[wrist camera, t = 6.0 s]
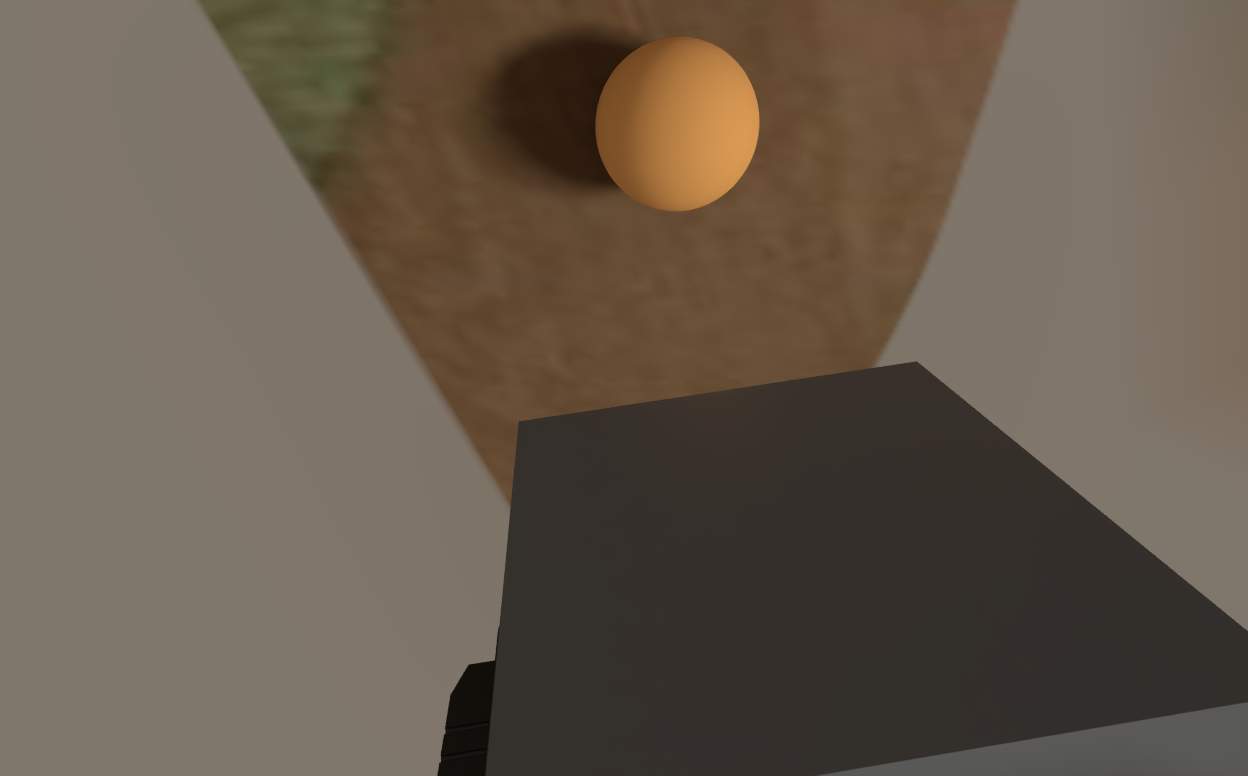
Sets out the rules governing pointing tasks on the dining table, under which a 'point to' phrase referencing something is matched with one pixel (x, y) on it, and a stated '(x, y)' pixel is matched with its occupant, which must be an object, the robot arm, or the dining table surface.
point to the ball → (677, 123)
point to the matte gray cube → (840, 600)
